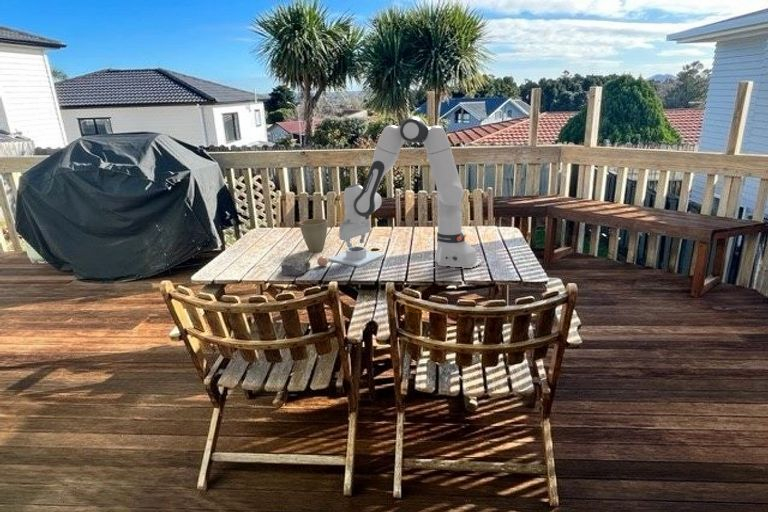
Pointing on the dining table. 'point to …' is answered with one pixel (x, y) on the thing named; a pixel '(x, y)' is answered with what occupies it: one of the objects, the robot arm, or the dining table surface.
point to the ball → (322, 261)
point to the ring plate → (356, 262)
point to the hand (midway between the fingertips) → (355, 244)
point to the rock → (295, 266)
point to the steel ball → (356, 249)
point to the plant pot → (314, 233)
